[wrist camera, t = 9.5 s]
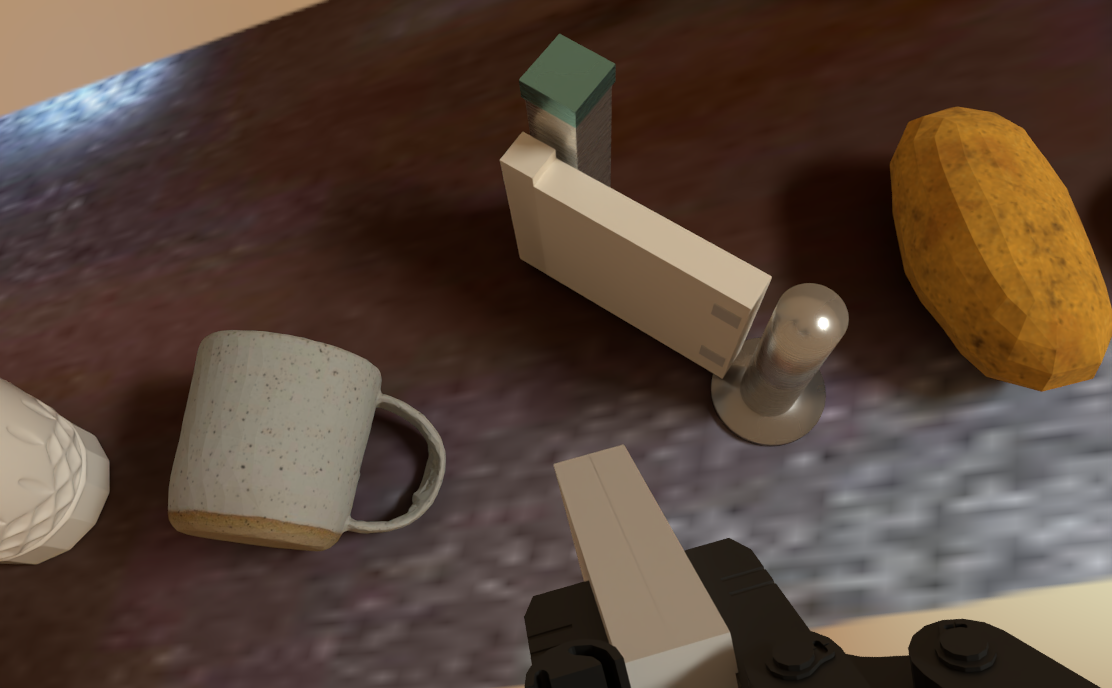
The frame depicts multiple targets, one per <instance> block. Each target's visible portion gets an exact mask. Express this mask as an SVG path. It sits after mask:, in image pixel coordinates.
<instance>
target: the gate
mask: <svg viewBox="0 0 1112 688" xmlns="http://www.w3.org/2000/svg"><path fill="white" fill-rule="evenodd" d="M500 164H501V168H502V173H503V178H504V183H505V188H506V193H507V198H508V202H509V207H510V212H511V217H512V222H513V227H514V232H515V236H516V241H517V246H518V251H519V256H520V259H522V260H523V261H525V262H527V263H528V264H530V265H532V266H533V267H535V268H537V269H538V270H540V271H542V272H543V273H545V274H547V275H549V276H550V277H552V278H554V279H555V280H557V281H559V282H560V283H562V284H564V285H565V286H567V287H569V288H570V289H572V290H574V291H575V292H577V293H579V294H581V295H582V296H584V297H586V298H587V299H589V300H591V301H592V302H594V303H596V304H597V305H599V306H601V307H602V308H604V309H606V310H607V311H609V312H611V313H613V314H614V315H616V316H618V317H619V318H621V319H623V320H624V321H626V322H628V323H629V324H631V325H633V326H634V327H636V328H638V329H639V330H641V331H643V332H645V333H646V334H648V335H650V336H651V337H653V338H655V339H656V340H658V341H660V342H661V343H663V344H665V345H666V346H668V347H670V348H671V349H673V350H675V351H677V352H678V353H680V354H682V355H683V356H685V357H687V358H688V359H690V360H692V361H693V362H695V363H697V364H698V365H700V366H702V367H703V368H705V369H707V370H709V371H710V372H712V373H714V374H715V375H717V376H719V377H720V378H722V379H723V377H724V376H725V374H726V373H727V371H728V369H729V368H730V366H731V365H732V363H733V362H734V360H735V359H736V357H737V355H738V354H739V352H740V350H741V348H742V346H743V343H744V341H745V339H746V336H747V334H748V332H749V329H750V327H751V325H752V322H753V320H754V318H755V315H756V313H757V311H758V308H759V306H760V304H761V302H762V299H763V297H764V295H765V292H766V290H767V288H768V285H769V283H770V281H771V278H772V276H770V275H768V274H766V273H764V272H762V271H761V270H759V269H757V268H755V267H753V266H752V265H750V264H748V263H746V262H744V261H742V260H741V259H739V258H737V257H735V256H733V255H732V254H730V253H728V252H726V251H724V250H722V249H721V248H719V247H717V246H715V245H713V244H712V243H710V242H708V241H706V240H704V239H702V238H701V237H699V236H697V235H695V234H693V233H692V232H690V231H688V230H686V229H684V228H682V227H681V226H679V225H677V224H675V223H673V222H672V221H670V220H668V219H666V218H664V217H662V216H661V215H659V214H657V213H655V212H653V211H652V210H650V209H648V208H646V207H644V206H642V205H641V204H639V203H637V202H635V201H633V200H632V199H630V198H628V197H626V196H624V195H622V194H621V193H619V192H617V191H615V190H613V189H612V188H610V187H608V186H606V185H604V184H602V183H601V182H599V181H597V180H595V179H593V178H592V177H590V176H588V175H586V174H584V173H582V172H581V171H579V170H577V169H575V168H573V167H572V166H570V165H568V164H566V163H564V162H562V161H561V160H559V159H557V158H556V152H555V149H554V148H552V147H550V146H548V145H546V144H544V143H543V142H541V141H539V140H537V139H535V138H533V137H532V136H530V135H528V134H526V133H524V132H522V133H521V134H520V136H519V137H518V138H517V139H516V141H515V142H514V143H513V144H512V146H511V147H510V148H509V149H508V150H507V152H506V153H505V154H504V155H503V157H502V158H501V159H500Z"/></svg>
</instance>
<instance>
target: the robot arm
mask: <svg viewBox="0 0 1112 688" xmlns="http://www.w3.org/2000/svg"><path fill="white" fill-rule="evenodd" d="M554 468H555V472H556V476H557V480H558V484H559V487H560V491H561V495H562V499H563V503H564V507H565V510H566V514H567V518H568V522H569V526H570V530H571V534H572V537H573V541H574V545H575V549H576V553H577V557H578V560H579V564H580V568H581V572H582V576H583V579H584V582H581V583H578V584H574V585H571V586H567V587H564V588H560V589H557V590H554V591H550V592H547V593H543V594H540V595H536V596H533V598H532V600H531V602H530V605H529V607H528V609H527V612H526V614H525V616H524V619H525V625H526V631H527V637H528V643H529V649H530V654H531V661H532V666H531V667H530V669H529V670H528V672H527V673H526V680H525V688H1100V687H1098V686H1097V685H1095V684H1093V683H1092V682H1090V681H1088V680H1087V679H1085V678H1083V677H1082V676H1080V675H1078V674H1077V673H1075V672H1073V671H1071V670H1069V669H1068V668H1066V667H1065V666H1063V665H1061V664H1060V663H1058V662H1056V661H1055V660H1053V659H1051V658H1049V657H1048V656H1046V655H1044V654H1043V653H1041V652H1039V651H1038V650H1036V649H1034V648H1032V647H1031V646H1029V645H1027V644H1026V643H1024V642H1022V641H1021V640H1019V639H1017V638H1016V637H1014V636H1012V635H1010V634H1009V633H1007V632H1005V631H1004V630H1001V629H999V628H997V627H994V626H992V625H990V624H987V623H985V622H979V621H973V620H966V619H954V620H942V621H938V622H935V623H932V624H930V625H926V626H924V627H923V628H922V629H921V630H920V631H918V632H917V633H916V634H914V635H913V637H912V639H911V642H910V645H909V647H908V650H909V656H892V657H891V656H890V657H859V656H854V655H848V654H845V653H844V651H843V650H842V648H841V647H839V646H838V645H837V644H836V643H835V642H834V641H832V640H831V639H830V638H828V637H826V636H823V635H820V634H818V633H815V632H812V631H810V630H809V628H808V627H807V626H806V624H805V623H804V622H803V620H802V619H801V617H800V616H799V615H798V613H797V612H796V611H795V609H794V608H793V606H792V605H791V604H790V602H789V601H788V600H787V598H786V597H785V595H784V594H783V593H782V591H781V590H780V589H779V587H778V586H777V584H776V583H775V584H774V581H773V579H772V577H771V576H770V575H769V573H768V572H767V571H766V569H765V570H764V567H763V565H762V564H761V562H760V561H759V560H758V558H757V557H756V555H755V554H754V553H753V551H752V550H751V549H749V548H748V547H746V546H744V545H742V544H740V543H738V542H736V541H734V540H732V539H730V538H727V539H723V540H720V541H716V542H713V543H709V544H706V545H702V546H699V547H695V548H692V549H688V550H685V551H684V550H683V548H682V546H681V545H680V543H679V541H678V539H677V538H676V536H675V534H674V532H673V530H672V529H671V527H670V525H669V523H668V522H667V520H666V518H665V516H664V515H663V513H662V511H661V509H660V508H659V506H658V504H657V502H656V500H655V499H654V497H653V495H652V493H651V492H650V490H649V488H648V486H647V485H646V483H645V481H644V479H643V478H642V476H641V474H640V472H639V471H638V469H637V467H636V465H635V463H634V462H633V460H632V458H631V456H630V455H629V453H628V451H627V449H626V448H625V446H624V445H621V446H617V447H613V448H610V449H606V450H602V451H599V452H595V453H592V454H588V455H584V456H581V457H577V458H574V459H570V460H566V461H563V462H559V463H556V464H554Z"/></svg>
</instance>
